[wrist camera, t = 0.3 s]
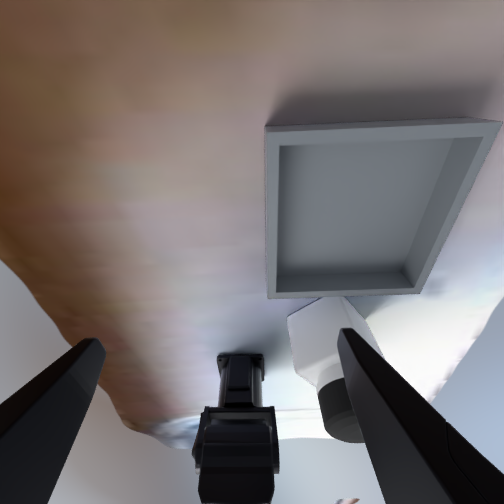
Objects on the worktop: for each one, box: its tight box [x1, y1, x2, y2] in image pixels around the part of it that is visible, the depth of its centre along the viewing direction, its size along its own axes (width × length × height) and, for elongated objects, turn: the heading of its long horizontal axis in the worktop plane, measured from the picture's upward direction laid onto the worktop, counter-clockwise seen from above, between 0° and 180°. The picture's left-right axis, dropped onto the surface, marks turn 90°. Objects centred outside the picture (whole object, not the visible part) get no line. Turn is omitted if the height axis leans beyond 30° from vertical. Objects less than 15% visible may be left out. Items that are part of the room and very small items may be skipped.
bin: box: [264, 117, 503, 299], centre depth 20 cm, size 15×15×3 cm
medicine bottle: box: [287, 296, 385, 443], centre depth 24 cm, size 7×7×12 cm
